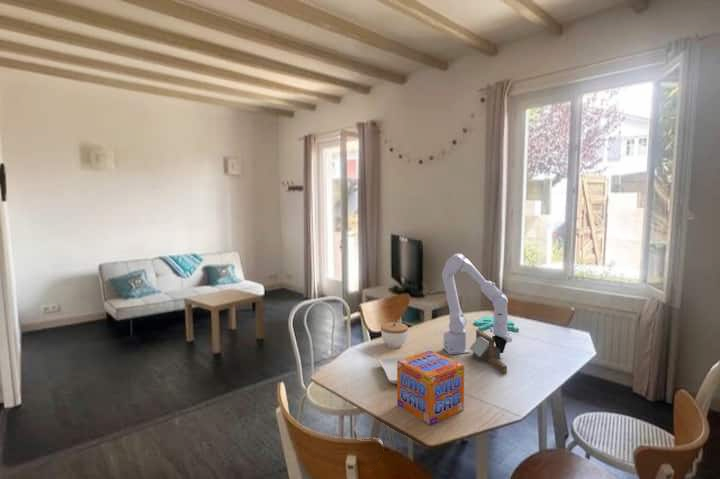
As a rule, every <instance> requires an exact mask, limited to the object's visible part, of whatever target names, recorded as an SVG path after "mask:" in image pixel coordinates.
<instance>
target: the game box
mask: <svg viewBox="0 0 720 479" xmlns="http://www.w3.org/2000/svg"><path fill="white" fill-rule="evenodd" d="M407 357H408V358H405V359H402V360H398V361H397V384H396V386H397V387H396V393H397V395H396V396H397V397H396V398H397V399H396V401H397V402H396V403H397V404H396V405H397V406H399V407H400V408H402V409H403V410H404V411H407V413H409V414H411V415H412V416H414V417H416V418H417V419H419V420H421V421H422V422H424V423H425V424H427V425H428V426H432V425H434V424H436V423H438V422H440V421H443V420H444V419H447V418H449V417H451V416H453V415H456V414H457V413H460V412H462V411H464V409H465V405H464V404H465V403H464V402H465V364H463V363H460V362H458V361H456V360H453V359H451V358H448V357H446V356H444V355H441V354H439V353H437V352H435V351H432V350H427V351H425V352H421V353H418V354H417V353H416V354H414V355H412V356H411V357H410V356H407Z"/></svg>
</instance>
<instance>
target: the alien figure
mask: <svg viewBox="0 0 720 479" xmlns="http://www.w3.org/2000/svg"><path fill="white" fill-rule="evenodd" d="M474 325H475V326H476V325H477V326H476V327H478V328H477V330H481V331H482V332H484V331H485V330H487V331H488V329H489V328H490V327H494V316H484V317H481V318H477V319H474ZM507 331H513V332H514V333H519V332H520V329H519V326H515V323H514V322H513V320H508V323H507Z"/></svg>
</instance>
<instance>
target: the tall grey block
mask: <svg viewBox="0 0 720 479" xmlns="http://www.w3.org/2000/svg"><path fill="white" fill-rule="evenodd" d="M472 357H473V358H474V359H475V360H477V361H478V362H481V361H489V346H488V348H487V349H486V350H485V352H484V353H483V354H482V356H481V357H479V356H478V355H477V354H476V353H474V352H473V351H472ZM494 357H495V358H497V359H498V360H499V359H500V358H501V353H500V349H499V348H497V347H496V345H495V344H494Z"/></svg>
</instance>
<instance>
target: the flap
mask: <svg viewBox="0 0 720 479" xmlns="http://www.w3.org/2000/svg"><path fill="white" fill-rule="evenodd" d="M488 346H489V342H488V341H487V340H485V339H484V338H482V337H480V336H479V337H478V338H477V340H476V339H475V341H474V343H472V345H471V346H470V348H469V350H471V351H472V353H473V352H474V353H476V354H477V355H478V356H479V357H481V356H482V354H483V353H484V352H485V350H486V349H487V348H488Z"/></svg>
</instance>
